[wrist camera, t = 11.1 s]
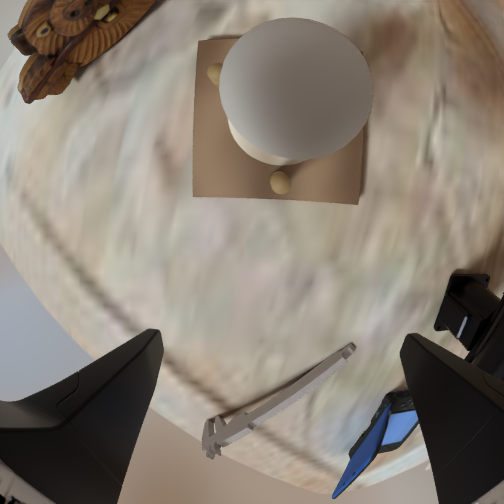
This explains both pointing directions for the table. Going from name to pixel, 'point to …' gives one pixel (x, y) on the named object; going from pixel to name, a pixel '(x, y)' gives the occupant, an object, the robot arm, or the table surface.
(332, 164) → the pin holder
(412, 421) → the handheld game console
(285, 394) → the caliper
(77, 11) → the wooden carving
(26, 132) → the table surface
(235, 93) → the lightbulb
